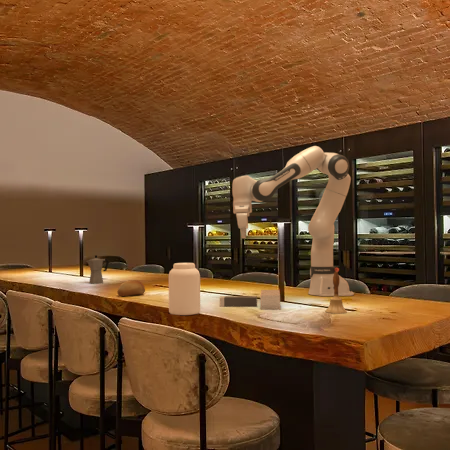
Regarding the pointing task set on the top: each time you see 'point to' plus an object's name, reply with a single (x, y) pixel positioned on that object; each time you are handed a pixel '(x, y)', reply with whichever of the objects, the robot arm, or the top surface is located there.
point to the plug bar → (238, 301)
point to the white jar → (184, 289)
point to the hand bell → (336, 298)
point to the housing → (270, 300)
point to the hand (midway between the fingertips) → (244, 238)
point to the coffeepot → (96, 269)
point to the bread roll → (131, 288)
